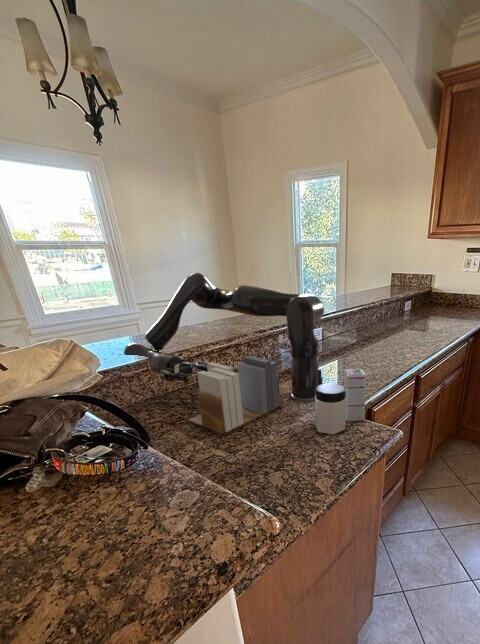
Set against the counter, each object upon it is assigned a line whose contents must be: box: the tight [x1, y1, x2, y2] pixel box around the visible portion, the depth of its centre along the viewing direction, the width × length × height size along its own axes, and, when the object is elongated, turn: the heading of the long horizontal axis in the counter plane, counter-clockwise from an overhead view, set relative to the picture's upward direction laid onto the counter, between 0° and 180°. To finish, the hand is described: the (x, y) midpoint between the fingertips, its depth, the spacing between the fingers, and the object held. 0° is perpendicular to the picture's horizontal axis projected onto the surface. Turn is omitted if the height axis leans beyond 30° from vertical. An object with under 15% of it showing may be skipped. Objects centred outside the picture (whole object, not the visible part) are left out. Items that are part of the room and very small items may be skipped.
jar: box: [314, 382, 346, 435], centre depth 98 cm, size 9×8×12 cm
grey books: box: [236, 355, 280, 415], centre depth 108 cm, size 7×9×16 cm
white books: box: [196, 368, 244, 433], centre depth 97 cm, size 6×9×15 cm
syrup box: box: [343, 368, 367, 422], centre depth 104 cm, size 6×6×14 cm
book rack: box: [188, 374, 282, 435], centre depth 106 cm, size 24×15×11 cm, turn 145°
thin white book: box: [206, 361, 235, 373], centre depth 103 cm, size 2×9×15 cm, turn 55°
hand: (199, 375), depth 108 cm, fingers open, 8 cm apart
